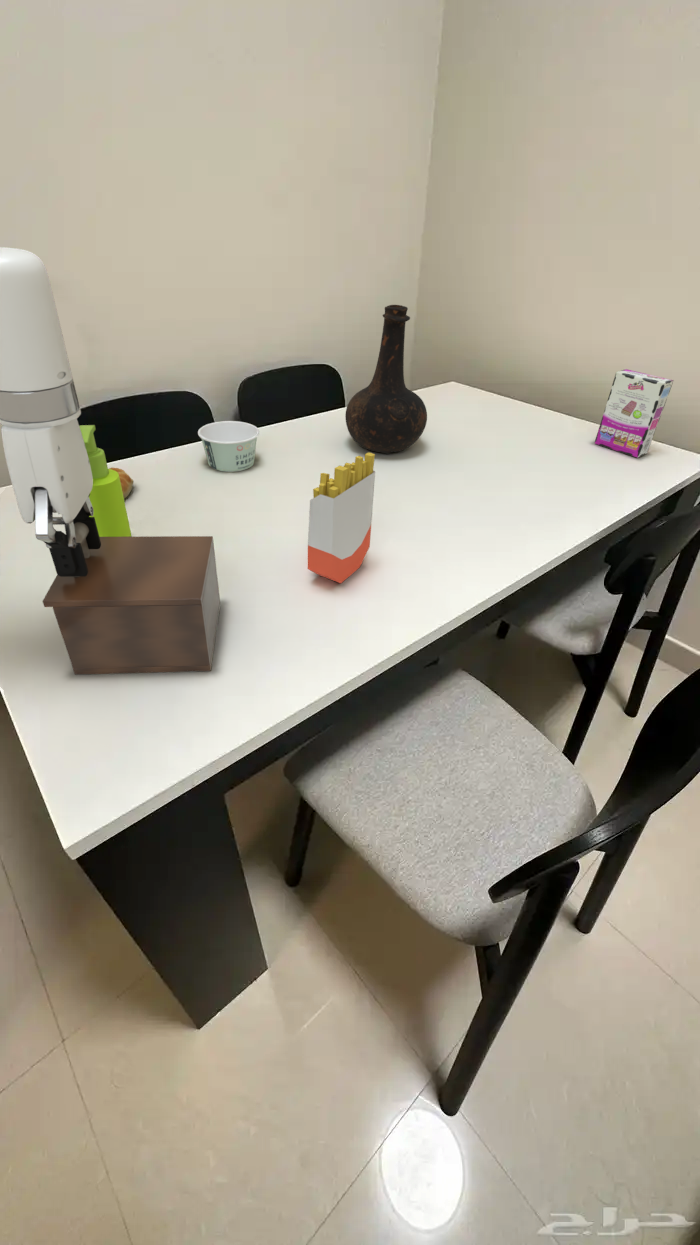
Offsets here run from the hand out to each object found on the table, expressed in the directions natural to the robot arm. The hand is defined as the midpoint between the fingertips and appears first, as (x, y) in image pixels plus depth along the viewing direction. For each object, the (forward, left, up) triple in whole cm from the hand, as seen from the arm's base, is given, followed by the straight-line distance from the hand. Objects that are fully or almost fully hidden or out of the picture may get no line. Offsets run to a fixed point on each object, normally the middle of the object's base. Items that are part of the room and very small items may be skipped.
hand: (80, 559), depth 67 cm
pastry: (-8, +41, -12) cm, 43 cm away
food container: (+12, +56, -12) cm, 59 cm away
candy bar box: (+101, +66, -12) cm, 122 cm away
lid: (+6, 0, -2) cm, 6 cm away
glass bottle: (+45, +66, -12) cm, 81 cm away
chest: (+6, 0, -12) cm, 13 cm away
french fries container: (+31, +15, -12) cm, 37 cm away
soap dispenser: (-3, +19, -12) cm, 23 cm away
